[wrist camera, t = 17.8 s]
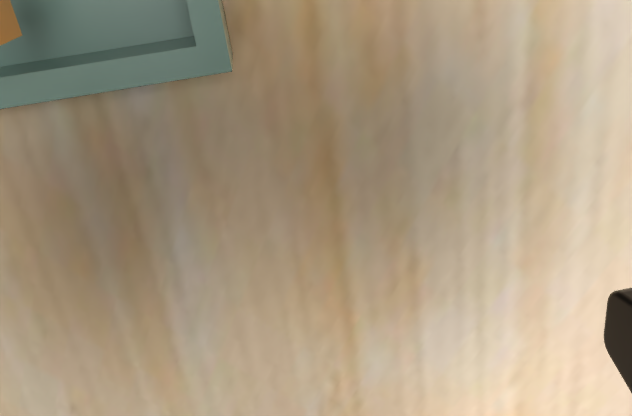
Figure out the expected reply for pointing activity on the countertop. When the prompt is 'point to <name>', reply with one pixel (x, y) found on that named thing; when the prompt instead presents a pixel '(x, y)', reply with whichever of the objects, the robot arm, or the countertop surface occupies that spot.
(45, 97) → the tray
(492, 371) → the countertop surface
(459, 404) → the countertop surface
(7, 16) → the toner caddy
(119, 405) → the countertop surface
